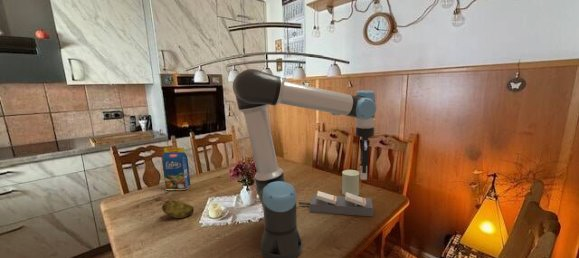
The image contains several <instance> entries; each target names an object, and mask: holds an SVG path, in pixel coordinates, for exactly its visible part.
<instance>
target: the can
mask: <svg viewBox="0 0 579 258" xmlns="http://www.w3.org/2000/svg"><path fill="white" fill-rule="evenodd" d="M341 175H342V177H341V184H342V185H341V186H342V188H341V193H342V195H344V196H345V194H346V192H348V193H351V194H353V195H356V196H359V195H360V171H359V170H355V169H345V170H343V171H342V172H341Z"/></svg>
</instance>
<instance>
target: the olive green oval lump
mask: <svg viewBox="0 0 579 258" xmlns="http://www.w3.org/2000/svg"><path fill="white" fill-rule="evenodd" d="M161 210H162V212H163V213H164V214H166V215H167V216H169V217H172V218H175V219H182V218H186V217H189V216H191V215H192V214H193V213H194V211H195V209H194V206H193V205H192V204H190V203H186V202H184V201H180V200H177V199H169V200H166V201H165V202H164V203H162V206H161Z"/></svg>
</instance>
